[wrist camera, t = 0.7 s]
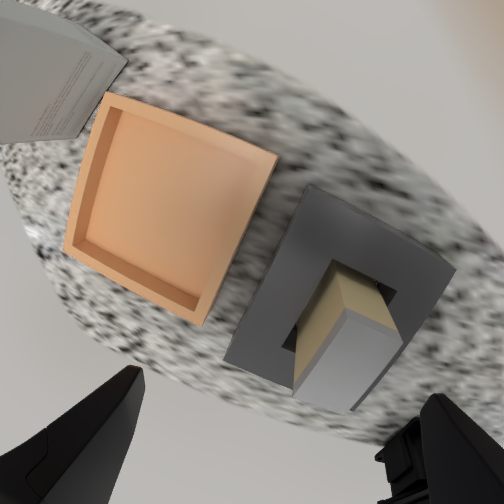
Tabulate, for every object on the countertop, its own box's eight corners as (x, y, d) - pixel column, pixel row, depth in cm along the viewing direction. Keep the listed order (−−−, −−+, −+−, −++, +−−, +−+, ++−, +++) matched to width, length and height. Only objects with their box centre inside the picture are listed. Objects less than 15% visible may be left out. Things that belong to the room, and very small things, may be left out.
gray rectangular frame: (438, 254, 19) (456, 269, 16) (349, 385, 23) (353, 411, 20) (308, 183, 19) (309, 188, 16) (232, 336, 23) (223, 360, 20)
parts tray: (280, 155, 19) (277, 156, 17) (210, 310, 23) (201, 326, 21) (123, 95, 19) (105, 91, 17) (80, 242, 23) (62, 250, 21)
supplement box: (78, 21, 18) (-42, -20, 6) (131, 61, 18) (-9, 13, 6) (30, 95, 20) (-93, 94, 8) (75, 143, 21) (-68, 159, 9)
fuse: (372, 276, 20) (403, 342, 13) (335, 335, 22) (344, 415, 14) (333, 257, 20) (347, 317, 13) (297, 319, 22) (292, 397, 14)
